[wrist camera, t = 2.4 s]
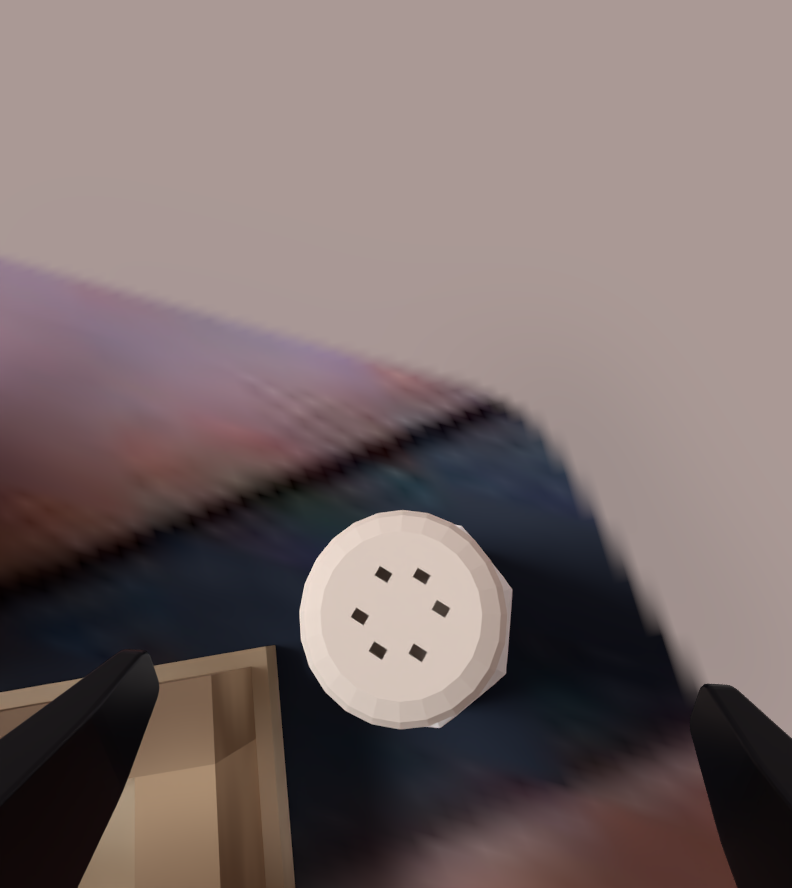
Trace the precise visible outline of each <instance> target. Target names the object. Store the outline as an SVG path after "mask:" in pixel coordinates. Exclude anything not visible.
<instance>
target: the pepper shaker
mask: <svg viewBox="0 0 792 888" xmlns="http://www.w3.org/2000/svg"><path fill="white" fill-rule="evenodd" d="M511 604H512V588H511V587H510V586H509V584H508V583H507V581H506V580H505V579H504V577H503V576H502V575H501V573H500V572H499V571H498V570H497V568H496V567H495V566H494V565H493V563H492V562H491V560H490V559H489V558H488V556H487V555H486V554H485V553H484V551H483V550H482V549H481V548H480V546H479V545H478V544H477V543H476V541H475V540H474V539H473V538H472V537H471V536H470V535H469V534H468V533H467V532H466V530H465V529H464V528H463V527H462V526H459V525H454V524H453V523H451V522H448V521H446V520H444V519H441V518H439V517H436V516H434V515H431V514H429V513H422V512H414V511H407V510H399V511H392V512H384V513H377V514H375V515H372V516H370V517H367V518H365V519H362V520H360V521H358V522H355V523H353V524H352V525H351V526H349V527H348V528H346V529H345V530H344V531H342V532H341V533H340V534H338V535H337V536H336V537H334V538H333V539H332V540H331V542H330V543H329V544H328V545H327V547H326V548H325V549H324V550H323V552H322V553H321V554H320V555H319V557H318V558H317V559H316V561H315V563H314V565H313V567H312V569H311V572H310V574H309V576H308V578H307V580H306V582H305V585H304V590H303V596H302V601H301V606H300V611H299V613H300V631H301V641H302V645H303V648H304V651H305V654H306V657H307V661H308V664H309V667H310V669H311V670H312V672H313V674H314V675H315V677H316V678H317V680H318V682H319V683H320V685H321V686H322V688H323V689H324V691H325V692H326V693H327V694H328V695H329V696H330V697H331V698H332V699H333V700H334V701H336V702H337V703H338V704H339V705H340V706H341V707H342V708H343V709H344V710H345V711H347V712H349V713H351V714H353V715H355V716H356V717H358V718H360V719H362V720H364V721H366V722H368V723H370V724H373V725H379V726H384V727H390V728H395V729H408V728H417V727H433V728H441V727H442V726H443V725H445V724H446V723H448V722H449V721H450V720H452V719H453V718H454V717H456V716H457V715H458V714H459V713H460V712H462V711H463V710H464V709H465V708H466V707H468V706H469V705H470V704H471V703H472V702H474V701H475V700H476V699H477V698H478V697H480V696H481V695H482V694H483V693H484V692H486V691H487V690H488V689H489V688H490V687H492V686H493V685H494V684H495V683H496V682H497V681H498V680H500V679H501V678H502V677H503V676H504V675H505V674H506V664H507V657H508V644H509V631H510V618H511Z"/></svg>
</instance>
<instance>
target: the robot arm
mask: <svg viewBox="0 0 792 888" xmlns="http://www.w3.org/2000/svg"><path fill="white" fill-rule="evenodd" d="M158 694H159V681H158V677H157V674H156V671H155V668H154V665H153V662H152V659H151V656H150V654H149V653H148V652H147V651H145V650H133V649H125V650H122V651H120V652H118V653H117V654H115V655H114V656H113V657H111V658H110V659H108V660H107V661H106V662H104V663H103V664H102V665H100V666H99V667H98V668H96V669H95V670H93V671H92V672H91V673H89V674H88V675H87V676H85V677H84V678H83V679H81V680H80V681H78V682H77V683H76V684H74V685H73V686H72V687H70V688H69V689H68V690H66V691H65V692H63V693H62V694H61V695H59V696H58V697H57V698H55V699H54V700H53V701H51V702H50V703H48V704H47V705H46V706H44V707H43V708H42V709H40V710H39V711H38V712H36V713H35V714H33V715H32V716H31V717H29V718H28V719H27V720H25V721H24V722H23V723H21V724H20V725H18V726H17V727H16V728H14V729H13V730H12V731H10V732H9V733H8V734H6V735H5V736H3V737H2V738H1V739H0V888H78V886H79V884H80V882H81V880H82V878H83V876H84V873H85V871H86V869H87V867H88V865H89V863H90V861H91V859H92V856H93V854H94V852H95V850H96V848H97V846H98V844H99V842H100V840H101V837H102V835H103V833H104V831H105V829H106V827H107V825H108V823H109V821H110V818H111V816H112V814H113V812H114V810H115V808H116V806H117V803H118V801H119V799H120V797H121V795H122V792H123V790H124V787H125V785H126V782H127V780H128V777H129V775H130V772H131V769H132V766H133V764H134V761H135V758H136V756H137V753H138V750H139V747H140V745H141V742H142V739H143V736H144V734H145V731H146V728H147V725H148V723H149V720H150V717H151V714H152V712H153V709H154V706H155V704H156V701H157V698H158ZM690 730H691V735H692V739H693V743H694V746H695V750H696V754H697V757H698V761H699V765H700V769H701V772H702V776H703V780H704V783H705V787H706V791H707V794H708V798H709V802H710V805H711V809H712V813H713V816H714V820H715V824H716V827H717V831H718V834H719V837H720V841H721V844H722V847H723V850H724V853H725V855H726V858H727V861H728V864H729V866H730V869H731V872H732V874H733V877H734V880H735V882H736V885H737V888H792V738H791V737H789V736H788V735H787V734H786V733H785V732H784V731H783V730H782V729H781V728H779V727H778V726H777V725H776V724H775V723H774V722H773V721H771V719H769V718H768V717H767V716H766V715H765V714H764V713H763V712H762V711H761V710H759V709H758V708H757V707H756V706H755V705H754V704H753V703H752V702H751V701H749V700H748V699H747V698H746V697H745V696H744V695H743V694H742V693H741V692H739V691H738V690H737V689H736V688H734V687H732V686H730V685H720V684H704V685H703V686H702V687H701V688H700V691H699V693H698V696H697V699H696V702H695V705H694V708H693V711H692V714H691V718H690Z"/></svg>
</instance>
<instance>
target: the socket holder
mask: <svg viewBox="0 0 792 888" xmlns="http://www.w3.org/2000/svg"><path fill="white" fill-rule="evenodd" d="M154 668H155V671H156V674H157V677H158V681H159V694H158V698H157V701H156V704H155V706H154V709H153V712H152V714H151V717H150V720H149V723H148V725H147V728H146V731H145V734H144V736H143V739H142V742H141V745H140V747H139V750H138V753H137V756H136V758H135V761H134V764H133V766H132V769H131V772H130V775H129V777H128V780H127V782H126V785H125V787H124V790H123V792H122V795H121V797H120V799H119V801H118V803H117V806H116V808H115V810H114V812H113V814H112V816H111V818H110V821H109V823H108V825H107V827H106V829H105V831H104V833H103V835H102V837H101V840H100V842H99V844H98V846H97V848H96V850H95V852H94V854H93V856H92V859H91V861H90V863H89V865H88V867H87V869H86V871H85V873H84V876H83V878H82V880H81V882H80V884H79V886H78V888H295V878H294V866H293V854H292V842H291V830H290V818H289V805H288V793H287V781H286V769H285V757H284V744H283V732H282V720H281V708H280V696H279V684H278V671H277V659H276V647H275V645H273V646H265V647H259V648H254V649H248V650H242V651H236V652H231V653H225V654H219V655H213V656H208V657H202V658H196V659H190V660H185V661H179V662H173V663H167V664H161V665H156V666H154ZM81 679H83V678H81ZM81 679H75V680H69V681H64V682H58V683H52V684H46V685H40V686H35V687H29V688H23V689H17V690H12V691H6V692H0V739H1V738H2V737H3V736H5V735H6V734H8V733H9V732H10V731H12V730H13V729H14V728H16V727H17V726H18V725H20V724H21V723H23V722H24V721H25V720H27V719H28V718H29V717H31V716H32V715H33V714H35V713H36V712H38V711H39V710H40V709H42V708H43V707H44V706H46V705H47V704H48V703H50V702H51V701H53V700H54V699H55V698H57V697H58V696H59V695H61V694H62V693H63V692H65V691H66V690H68V689H69V688H70V687H72V686H73V685H74V684H76V683H77V682H78V681H80V680H81Z"/></svg>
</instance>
